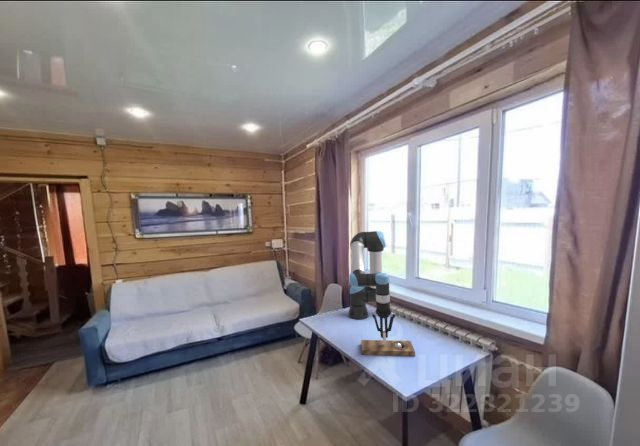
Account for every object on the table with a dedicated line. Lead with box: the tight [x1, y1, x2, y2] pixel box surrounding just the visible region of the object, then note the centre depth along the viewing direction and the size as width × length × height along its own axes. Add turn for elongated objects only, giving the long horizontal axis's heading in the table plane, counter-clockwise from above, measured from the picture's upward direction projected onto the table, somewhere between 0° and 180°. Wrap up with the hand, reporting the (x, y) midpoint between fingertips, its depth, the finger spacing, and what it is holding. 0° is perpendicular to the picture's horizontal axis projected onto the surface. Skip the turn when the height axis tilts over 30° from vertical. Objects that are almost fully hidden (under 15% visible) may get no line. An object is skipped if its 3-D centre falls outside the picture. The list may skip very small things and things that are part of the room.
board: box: [360, 339, 416, 357], centre depth 149 cm, size 28×12×2 cm, turn 83°
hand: (384, 343), depth 149 cm, fingers closed
